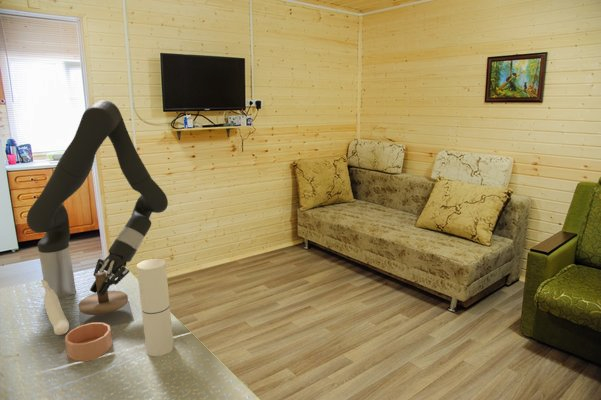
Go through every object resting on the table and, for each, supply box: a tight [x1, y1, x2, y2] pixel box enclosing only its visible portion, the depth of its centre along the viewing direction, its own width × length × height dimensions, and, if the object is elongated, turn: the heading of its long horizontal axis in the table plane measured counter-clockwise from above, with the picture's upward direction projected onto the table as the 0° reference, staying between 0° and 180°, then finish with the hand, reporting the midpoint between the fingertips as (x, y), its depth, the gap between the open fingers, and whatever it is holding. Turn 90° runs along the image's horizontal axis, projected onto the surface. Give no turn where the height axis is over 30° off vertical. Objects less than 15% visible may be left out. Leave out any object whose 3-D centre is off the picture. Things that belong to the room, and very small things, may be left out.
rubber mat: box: [78, 300, 135, 328], centre depth 132 cm, size 15×15×1 cm
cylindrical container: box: [136, 258, 175, 357], centre depth 112 cm, size 7×7×25 cm
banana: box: [40, 279, 70, 336], centre depth 123 cm, size 5×19×15 cm, turn 41°
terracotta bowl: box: [64, 323, 113, 363], centre depth 115 cm, size 11×11×5 cm
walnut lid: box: [78, 271, 129, 315], centre depth 130 cm, size 14×14×10 cm
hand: (96, 293), depth 128 cm, fingers closed on walnut lid, 3 cm apart
